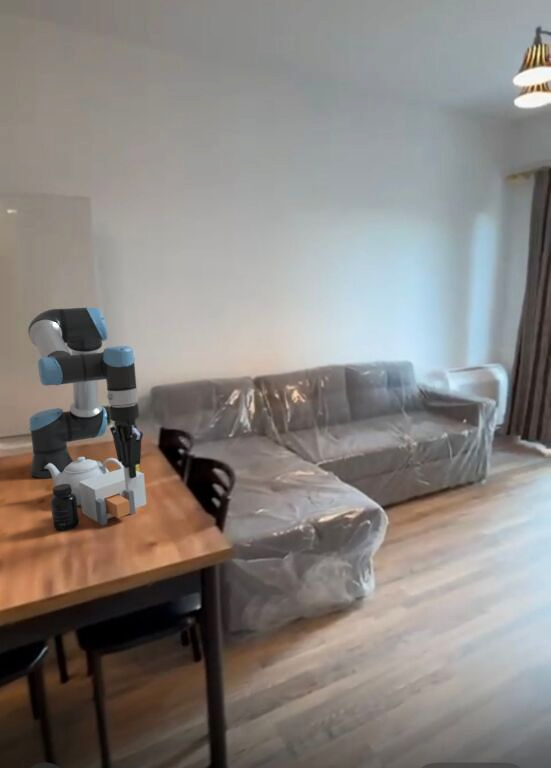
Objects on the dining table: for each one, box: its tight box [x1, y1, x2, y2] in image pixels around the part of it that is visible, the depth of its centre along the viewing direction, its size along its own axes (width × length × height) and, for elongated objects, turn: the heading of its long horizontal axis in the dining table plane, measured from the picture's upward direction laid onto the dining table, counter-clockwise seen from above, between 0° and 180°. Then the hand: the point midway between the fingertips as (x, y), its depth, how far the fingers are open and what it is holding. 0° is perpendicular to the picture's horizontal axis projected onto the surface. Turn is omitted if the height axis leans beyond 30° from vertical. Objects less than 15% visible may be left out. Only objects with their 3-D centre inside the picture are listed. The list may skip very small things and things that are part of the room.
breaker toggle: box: [104, 494, 130, 519], centre depth 142 cm, size 8×4×4 cm, turn 47°
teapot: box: [44, 456, 124, 507], centre depth 158 cm, size 19×18×14 cm
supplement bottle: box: [49, 484, 80, 532], centre depth 137 cm, size 7×7×12 cm
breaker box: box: [79, 468, 147, 527], centre depth 147 cm, size 13×16×10 cm
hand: (131, 487), depth 134 cm, fingers closed
